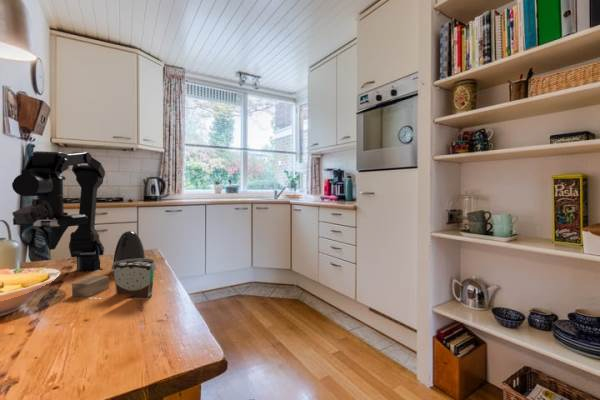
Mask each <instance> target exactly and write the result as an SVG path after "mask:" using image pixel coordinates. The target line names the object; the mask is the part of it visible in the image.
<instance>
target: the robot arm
mask: <svg viewBox="0 0 600 400" xmlns="http://www.w3.org/2000/svg"><path fill="white" fill-rule="evenodd" d="M31 154H32V155H30V156H29V158H28V160H27V162H26V164H25V166H24V169H21V170H20V173H21V174H18V175H17V176H15V178H14V180H13V182H12V183H11V186H12V189H13V191H14V192H15V193H16V194H17V195H19V196H22V197H36V199H35V198H33V199H32V200H31V205H28V206H25V207H22V208H19V209H18V210H15V211H12V212H11V214H12V216H13V218H12V225H13V226H24V225H32V224H33V225H32V226H30V228H31V229H34V230H36V231H38V232H39V233H40V235H41V236H42V239H43V241H44V242H45V245H46V247H47V248H48V250H51V251H53V250H56V247H57V246H58V244H59V242H60V241H61V239H62V237H63V235H64V233H65V232H66V231H67V230H68V228H69V227H72V226H74V227H75V226H77V228H76V230H75V231H72V232H71V233H70V235H69V236H70V238H69V239H70V240H69V242H68V249H69V252H70V256H71V257H70V258H76V270H77V271H79V272H81V273H82V272H95V271H97V270H98V271H103V270H104V268H101V259H100V256H103V255H104V253H105V246H104V245H103V243H102V242H101V239H100V234H99V232H98V231H97V230H96V229H95V226H96V224H95V223H96V222H95V221H96V213H97V211H96V210H97V209H96V207H97V198H98V197H97V196H98V195H97V194H98V189H99V188H100V187H101V186H102V185H103V183H104V178H105V176H106V171H105V168H104V167H103V165H102V163H101V162H100V161H98V160H97V159H95V158H94V157H92V154H91V153H90V152H87V151H72V152H63V151H39V150H37V151H34V152H32V153H31ZM70 166H72V168H71V171H72V173H73V175H74V176H75V180H76V182H77V184H78V185H79V187H80V197H79V209H78V214H77V213H76V214H75V213H74V214H68V212H64V211H65V210H64V203H68V199H67V198H64V184H63V183H64V181H65V180H66V177H65V176H64V174H62V173H64V172H65V171H67V170H68V169H69V167H70Z"/></svg>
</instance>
